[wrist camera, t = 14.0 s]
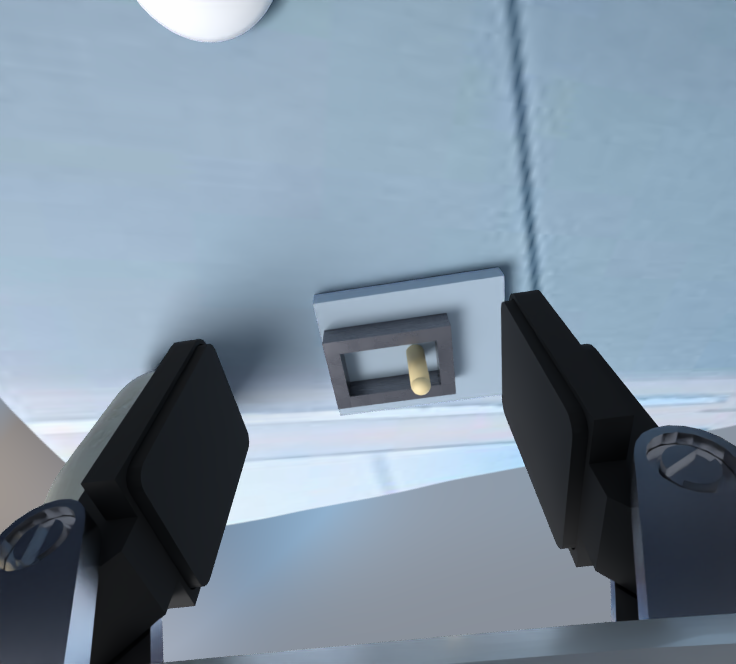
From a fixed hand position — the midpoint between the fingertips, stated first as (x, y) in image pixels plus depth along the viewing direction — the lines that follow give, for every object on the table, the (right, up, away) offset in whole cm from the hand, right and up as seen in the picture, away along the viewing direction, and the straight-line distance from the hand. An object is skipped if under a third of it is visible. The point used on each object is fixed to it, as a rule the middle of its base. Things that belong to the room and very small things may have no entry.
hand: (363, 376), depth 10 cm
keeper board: (+5, 0, +38) cm, 38 cm away
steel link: (+2, -1, +36) cm, 37 cm away
